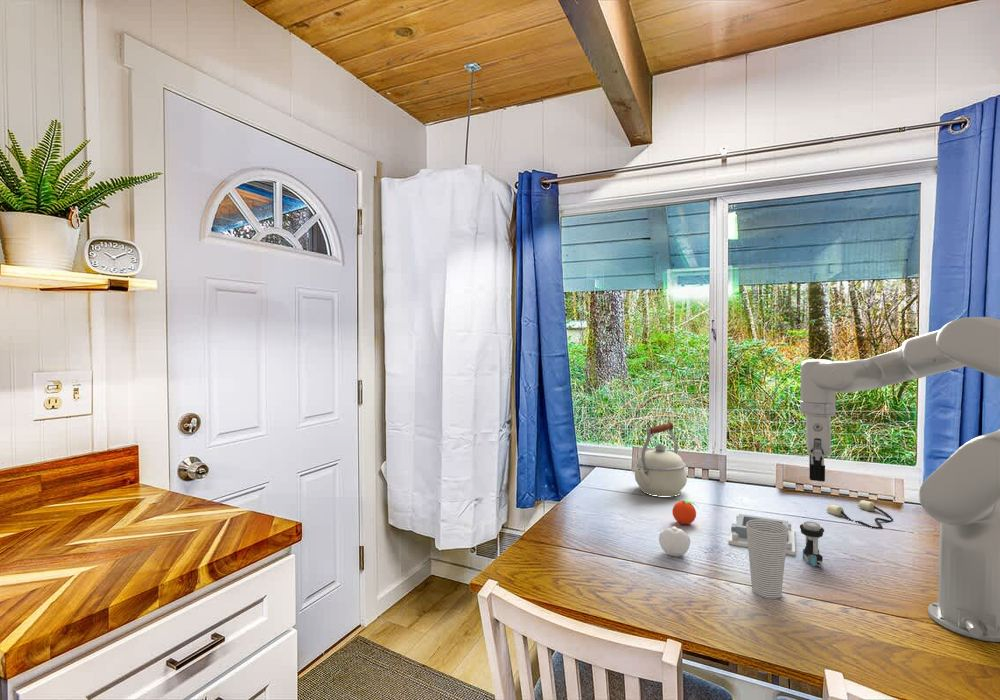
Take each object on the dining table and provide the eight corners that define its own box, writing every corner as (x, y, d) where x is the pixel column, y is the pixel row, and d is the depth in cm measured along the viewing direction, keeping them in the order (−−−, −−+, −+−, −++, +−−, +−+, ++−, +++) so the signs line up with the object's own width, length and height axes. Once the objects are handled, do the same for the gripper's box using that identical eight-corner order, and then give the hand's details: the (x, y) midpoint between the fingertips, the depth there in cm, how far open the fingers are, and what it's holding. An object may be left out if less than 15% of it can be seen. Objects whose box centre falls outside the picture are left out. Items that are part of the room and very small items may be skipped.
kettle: (655, 480, 200) (655, 418, 199) (699, 491, 186) (698, 424, 185) (616, 494, 184) (616, 426, 183) (660, 507, 170) (660, 434, 169)
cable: (912, 524, 153) (912, 513, 153) (872, 532, 148) (872, 520, 148) (862, 507, 168) (862, 497, 168) (824, 513, 163) (824, 503, 163)
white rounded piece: (689, 550, 137) (689, 522, 137) (691, 563, 130) (691, 533, 129) (658, 547, 139) (658, 520, 139) (659, 560, 132) (659, 531, 132)
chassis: (795, 555, 133) (795, 540, 133) (728, 543, 141) (728, 529, 141) (793, 531, 148) (794, 517, 148) (734, 521, 156) (734, 509, 156)
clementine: (696, 519, 159) (696, 497, 159) (702, 528, 152) (702, 505, 152) (670, 519, 160) (669, 497, 159) (675, 527, 153) (675, 504, 152)
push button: (832, 569, 125) (833, 529, 125) (811, 570, 125) (812, 530, 124) (814, 557, 132) (815, 519, 131) (795, 558, 131) (795, 520, 131)
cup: (750, 579, 121) (750, 515, 120) (791, 590, 115) (791, 524, 115) (741, 594, 114) (741, 527, 114) (783, 606, 109) (784, 536, 108)
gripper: (837, 415, 118) (836, 487, 118) (833, 404, 132) (833, 468, 133) (799, 412, 122) (799, 482, 122) (800, 402, 136) (800, 465, 137)
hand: (816, 475), depth 128 cm, fingers open, 9 cm apart
